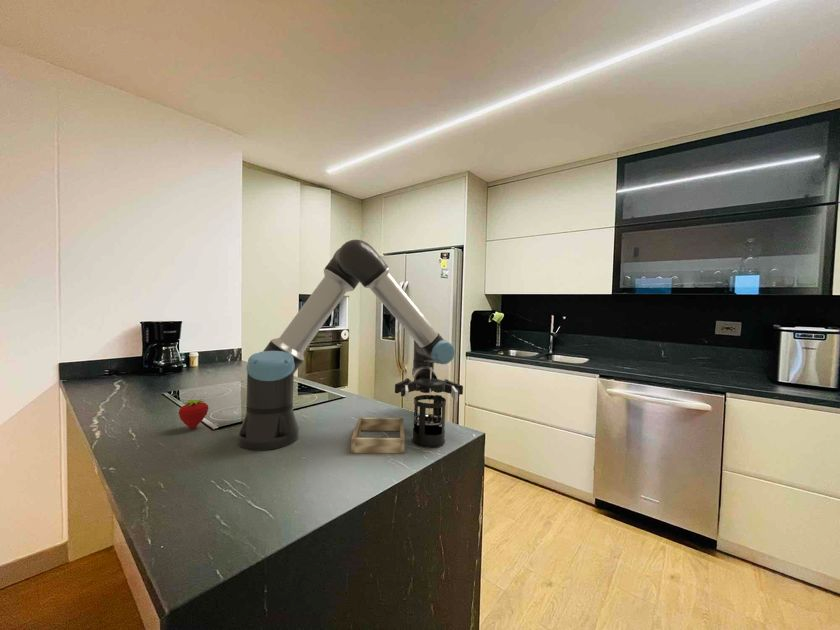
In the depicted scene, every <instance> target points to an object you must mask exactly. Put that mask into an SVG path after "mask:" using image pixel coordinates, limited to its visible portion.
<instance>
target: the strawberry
mask: <svg viewBox="0 0 840 630" xmlns="http://www.w3.org/2000/svg"><path fill="white" fill-rule="evenodd" d="M194 397H195V395H193V396H192V398H191V399H188V400H187V401H186V402H182V404H181V407H180V408H179V409H178V416H179V419H180V420H181V421H182V423H183V424H184V425H186V426H187V427H188V428H189V429H190V430H194V429H196V428H197V427H198V425H199V424H200V423H201V422H202V421H203V420H204V418H206V416H207V414H208V411H209V408H210V407H209V405H208V404H207V403H206V402H205V400H203V399H202V398H201V399H194V400H193V398H194Z"/></svg>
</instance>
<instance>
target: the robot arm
mask: <svg viewBox="0 0 840 630" xmlns="http://www.w3.org/2000/svg"><path fill="white" fill-rule="evenodd" d="M323 274H324V277H323V278H322V279H321V281H320V282H319V283H318V285H317V286H316V288H315V289H314V290H313V292H312V293H311V294H310V296H308V298H307V300H306V301H305V302H304V304H303V305H302V306H301V308H300V309H299V311H297V313H296V315H295V316H294V317H293V318H292V320H291V321H290V322H289V324H288V325H287V326H286V328H285V330H284V331H283V332H282V333H281V335H280V336H279V337H277V338H273V339H271V340H270V341H269V342H268V343H267V345H266V346H265V348H264V349H263V350H262V351H259V352H256V353H253V354H251V355H250V356H249V357H248V360H247V364H246V368H245V369H246V373H247V374H246V375H247V376H246V377H247V379H246V380H247V381H246V410H245V415H244V419H243V421H242V423H241V427H240V429H239V432H238V435H237V444H238V446H239V447H241V448H243V449H246V450H252V451H266V450H267V451H269V450H274V449H280V448H283V447H285V446H288V445H290V444H292V443H294V442H296V441H297V440H298V439H299V435H300V434H299V433H300V428H299V425H298V421H297V419H296V415H295V412H294V409H293V408H294V406H293V404H294V379H295V377H294V376H295V373H296V372H297V370H298V369H299V367H300V366H301V365H302V363H303V362H304V361H305V356H304V352H305V351H306V349H307V348H308V347H309V345H310V344H311V342H312V341H313V339H314V338H315V337H316V335H317V334H318V333H319V331H320V329H321V328H322V327H323V326H324V324H325V323H326V321H327V320H328V319H329V317H330V316H331V314H332V313H333V311H334V310H335V309H336V308H337V306H338V304H339V303H340V302H341V301H342V299H343V298H344V296H345V295H346V294H347V293H348V292H353V291H354V290H355V289H356V287H358V285H359V284H361V285H362V286H363V287H364V289H370V291H372V293H373V294H374V295H375V296H376V297H377V299H378V300H379V301H380V302H381V303H382V304H383V305H384V307H386V309H387V311H389V313H390V314H391V315H392V316H393V317H394V318H395V320H396V321H397V322H398V323H399V324H400V326H401V327H402V328H403V329H404V330H405V331H406V332H407V333H408V334H409V336H410V337H411V339H413V362H412V368H411V369H412V373H411V374H412V378H413V380H411V379H410V378H407V377H406V378H405V379H403V380H402V381H399V382H397V383H395V384H394V394H399V393H400V397H404V398H405V399H404V400H405V402H407V401H409V393H412V392H420V393H423V394H430V388H428V387H426V386H422V387H419V388H418V389H416V384H415V380H418V379H430V368H431V367H430V363H427V362H424V361H425V360H437V361H439V362H438V363H436V364H438V365H439V364H440V365H447V364H449V363H450V362H452V360H453V359H454V357H455V351H456V350H455V347H454V346H453V344H452V343H451V342H449V341H448V340H446V339H444V338H443V337H442V335H441V334H440V333H439V332H438V331H437V330H436V329H435V327H434V326H433V325H432V324H431V322H430V321H429V320H428V319H427V317H426V316H425V315H424V314H423V313H422V311H421V310H420V309H419V307H417V305H416V304H415V303H414V302H413V300H412V299H411V298H410V297H409V295H408V294H407V292H405V291H404V290H403V288H402V287H401V285H400V284H399V283H398V282H397V281H396V279H395V278H394V277H393V276H392V275H391V273H390V267H389V265H388V264H387V263H386V262H385V260H383V258H382V257H381V256H380V255H379V253H378V252H377V251H376V250H375V248H374V247H373V246H372V245H370V243H368V242H366V241H364V240H361V239H351V240H348V241H346V242H345V243H344V244H342V245H341V246H340V247H339V248H337V250H336V251H335V252H334V254H333V257H332V258H331V259H330V260H329V262H328V263H327V265H325V267H324V269H323ZM434 364H435V363H433V367H432V374H431V379H438V377H437V375H436V373H435V371H434V366H435V365H434ZM443 381H446V383H447V384H446V385H445V391H443V392H442V393H447V394H450V396H451V397H452V399H453V401H454V403H455V402H456V403H457V402H459V401H458V400H459V397H460V396H461V395H463V393H464V385H461V384H459V383H455V382H454V381H450V380H449V379H447V378H445V379H444V380H443ZM432 392H433V391H432V390H431V393H432Z"/></svg>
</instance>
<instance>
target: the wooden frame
mask: <svg viewBox="0 0 840 630" xmlns="http://www.w3.org/2000/svg"><path fill="white" fill-rule="evenodd" d="M362 431H380V432H381V431H383V432H384V431H385V432H386V431H389V432H390V431H391V432H393V431H394V432H399V437H360V436H361V432H362ZM354 453H355V454H404V453H405V424H404V418H402V417H400V418H399V417H358V419H357V421H356V424H355V427H354V430H353V433H352V436H351V439H350V454H354Z"/></svg>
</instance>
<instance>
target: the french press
mask: <svg viewBox="0 0 840 630" xmlns="http://www.w3.org/2000/svg"><path fill="white" fill-rule="evenodd" d="M424 362H427V363H430V367H431V368H430V379H418V380H415V384H416V389H418V388H419V387H422V386H426V387H428V388H430V393H429V394H422V395H417V396H414V398H413V404H414V405H413V406H414V412H413V428H412V437H411V443H412V444H414V445H415V446H417V447H420V448H425V449H435V448H440V447H443V446H444V445H445V443H446V439H445V438H446V437H445V435H446V434H445V433H446V432H445V431H446V430H445V422H446V403H447V399H446V398H445V397H443V396H442V395H439V393H444V392H443V391H445V385H446V384H447V383H446V381H444V380H442V379H438V378H437V379H431V374H432V367H433V363H434V364H437V363H438V362H439V361H437V360H425V361H424ZM431 390H432V392H434V393H438V394H434V395H433V394H432V392H431ZM423 400H428V401H429V402H428V403H427V402H423ZM432 400H433V403H431V401H432ZM421 401H422V402H421ZM418 408H419V409H418ZM426 409H428V413H426ZM431 409H432V413H431ZM418 411H419V414H418Z"/></svg>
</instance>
